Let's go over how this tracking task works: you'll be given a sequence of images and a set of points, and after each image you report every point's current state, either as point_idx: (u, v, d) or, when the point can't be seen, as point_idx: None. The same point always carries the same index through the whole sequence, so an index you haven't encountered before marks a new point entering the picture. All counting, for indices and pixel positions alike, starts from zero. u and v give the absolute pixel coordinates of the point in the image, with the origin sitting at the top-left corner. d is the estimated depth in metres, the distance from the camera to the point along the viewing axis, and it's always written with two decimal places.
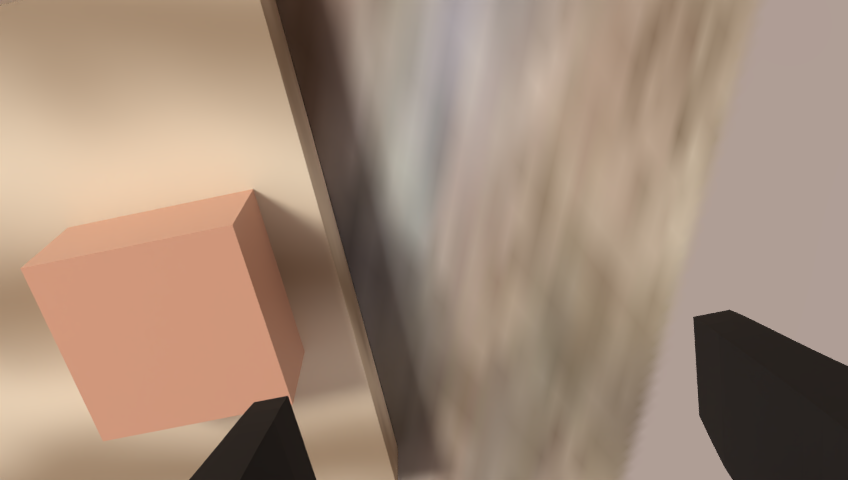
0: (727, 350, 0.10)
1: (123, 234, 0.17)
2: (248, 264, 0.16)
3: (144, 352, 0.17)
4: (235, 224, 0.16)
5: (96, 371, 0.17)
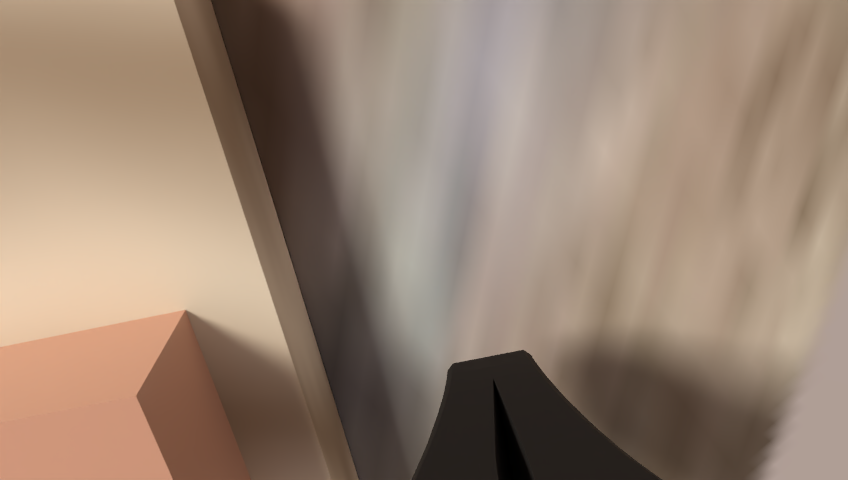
0: (498, 394, 0.10)
1: None
2: (167, 448, 0.10)
3: None
4: (142, 391, 0.10)
5: None
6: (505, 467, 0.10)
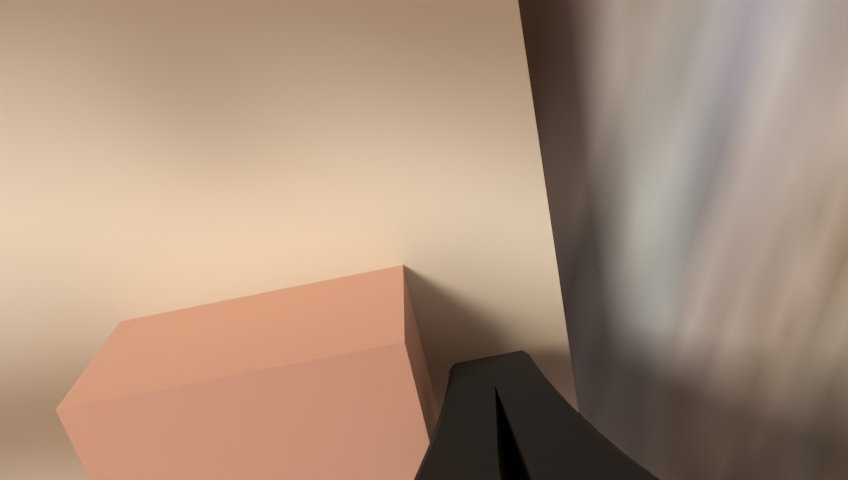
0: (496, 394, 0.10)
1: (216, 346, 0.11)
2: (420, 398, 0.10)
3: None
4: (405, 337, 0.10)
5: None
6: (507, 467, 0.10)
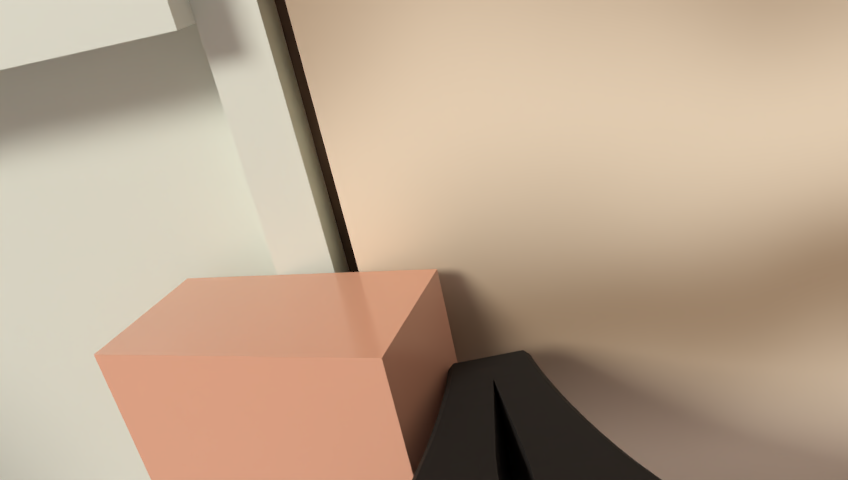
0: (498, 394, 0.10)
1: (236, 322, 0.11)
2: (404, 415, 0.10)
3: None
4: (388, 353, 0.09)
5: None
6: (505, 467, 0.10)
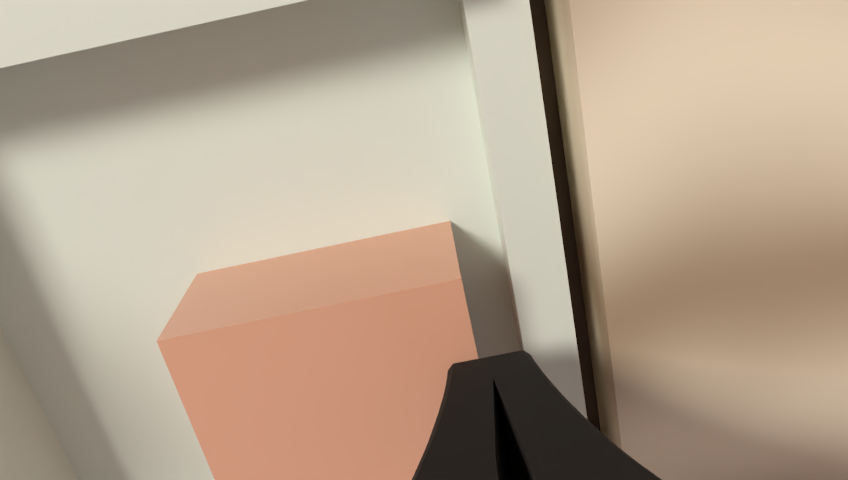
0: (498, 394, 0.10)
1: (291, 288, 0.12)
2: (472, 331, 0.12)
3: (319, 450, 0.12)
4: (460, 276, 0.11)
5: (250, 476, 0.12)
6: (505, 467, 0.10)
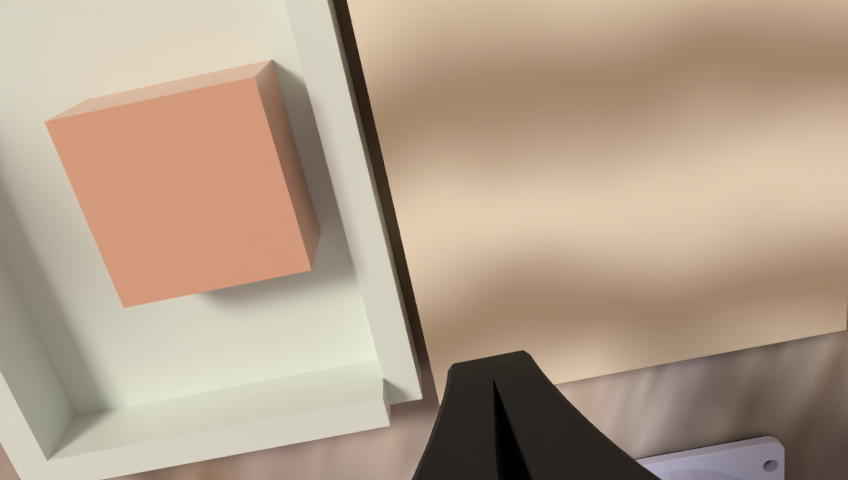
0: (498, 394, 0.10)
1: (145, 94, 0.17)
2: (269, 121, 0.17)
3: (166, 212, 0.17)
4: (257, 78, 0.16)
5: (118, 233, 0.17)
6: (505, 467, 0.10)
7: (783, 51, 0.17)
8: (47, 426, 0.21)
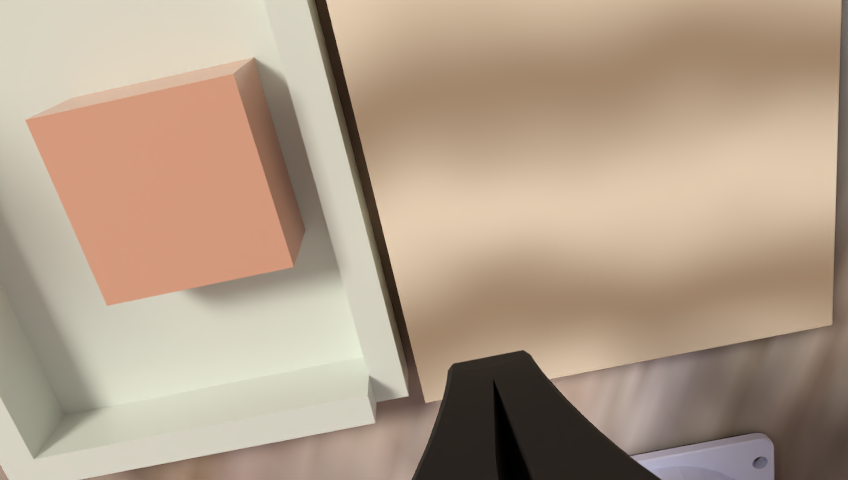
0: (498, 394, 0.10)
1: (126, 92, 0.17)
2: (249, 118, 0.17)
3: (147, 209, 0.17)
4: (236, 75, 0.16)
5: (100, 230, 0.17)
6: (505, 467, 0.10)
7: (763, 45, 0.17)
8: (34, 425, 0.21)
